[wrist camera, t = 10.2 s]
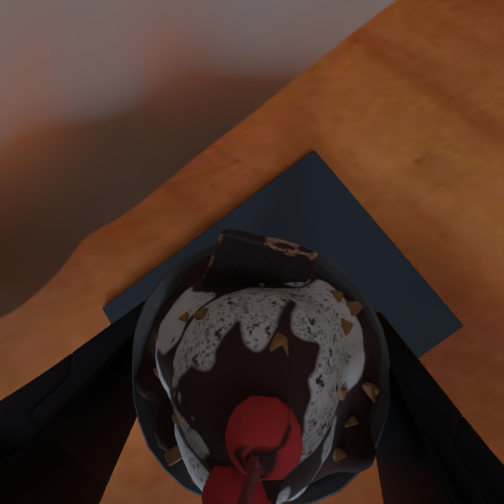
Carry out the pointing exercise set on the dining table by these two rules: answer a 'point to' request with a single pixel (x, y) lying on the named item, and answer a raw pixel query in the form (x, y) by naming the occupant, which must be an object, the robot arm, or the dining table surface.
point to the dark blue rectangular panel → (326, 250)
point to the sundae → (260, 373)
